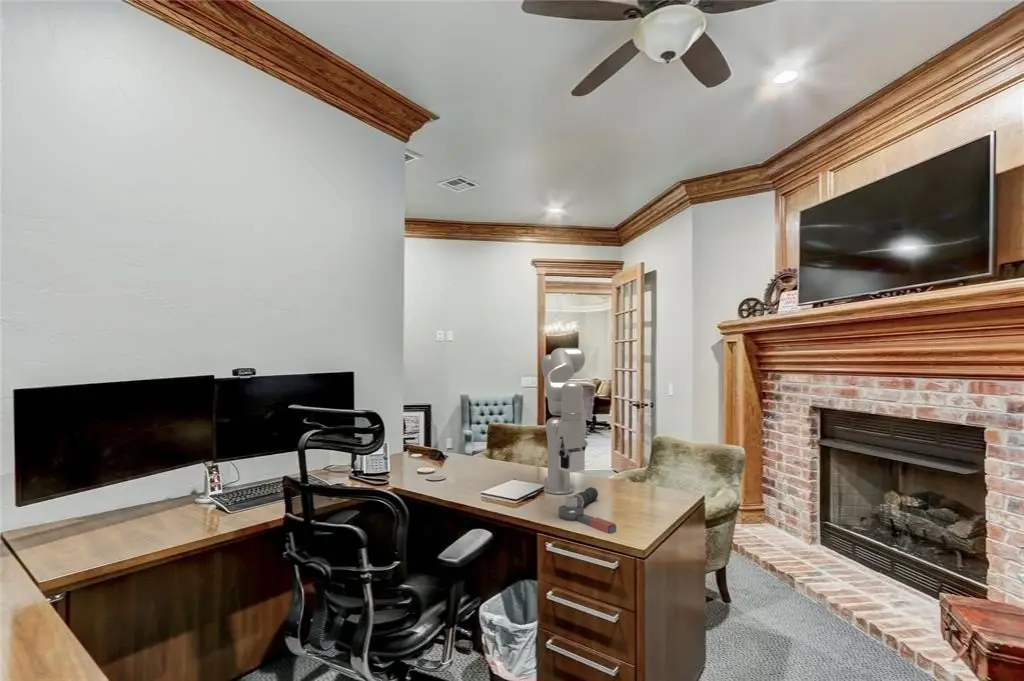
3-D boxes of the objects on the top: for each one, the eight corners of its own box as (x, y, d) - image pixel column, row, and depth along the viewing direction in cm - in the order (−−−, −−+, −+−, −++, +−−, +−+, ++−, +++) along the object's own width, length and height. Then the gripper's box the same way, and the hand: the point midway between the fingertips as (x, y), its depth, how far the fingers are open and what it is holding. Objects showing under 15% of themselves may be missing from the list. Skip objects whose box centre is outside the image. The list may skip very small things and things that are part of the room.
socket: (558, 469, 176) (558, 449, 177) (571, 466, 180) (571, 448, 181) (571, 472, 171) (571, 452, 171) (584, 470, 175) (584, 450, 176)
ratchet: (621, 529, 163) (621, 508, 163) (603, 535, 157) (603, 513, 157) (571, 511, 182) (571, 492, 182) (553, 516, 176) (553, 496, 176)
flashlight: (587, 498, 200) (587, 485, 200) (599, 500, 197) (599, 487, 197) (570, 507, 187) (570, 493, 187) (583, 510, 184) (583, 495, 184)
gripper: (580, 414, 185) (580, 462, 184) (547, 417, 174) (546, 468, 174) (595, 416, 179) (595, 465, 178) (561, 420, 168) (561, 471, 168)
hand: (571, 466), depth 176 cm, fingers closed on socket, 6 cm apart
